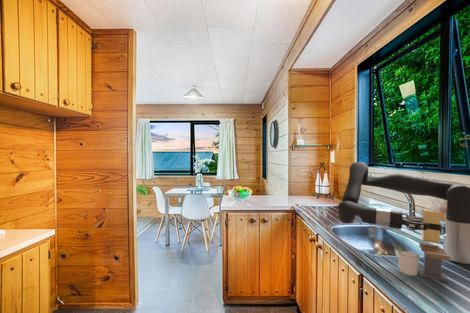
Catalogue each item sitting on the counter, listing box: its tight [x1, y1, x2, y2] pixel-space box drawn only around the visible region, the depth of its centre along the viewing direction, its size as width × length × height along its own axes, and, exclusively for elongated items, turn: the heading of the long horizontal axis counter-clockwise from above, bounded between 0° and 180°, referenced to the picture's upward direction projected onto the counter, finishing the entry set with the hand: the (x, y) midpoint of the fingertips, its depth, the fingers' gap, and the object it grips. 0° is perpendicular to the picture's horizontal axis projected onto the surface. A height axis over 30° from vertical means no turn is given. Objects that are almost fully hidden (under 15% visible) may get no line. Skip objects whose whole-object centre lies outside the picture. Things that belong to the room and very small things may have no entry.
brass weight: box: [420, 209, 442, 245], centre depth 97 cm, size 5×5×12 cm
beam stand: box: [417, 252, 448, 283], centre depth 92 cm, size 5×8×8 cm, turn 59°
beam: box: [418, 241, 451, 262], centre depth 92 cm, size 20×7×2 cm, turn 149°
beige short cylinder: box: [397, 250, 421, 276], centre depth 95 cm, size 7×7×7 cm
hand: (438, 226), depth 96 cm, fingers closed on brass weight, 5 cm apart
